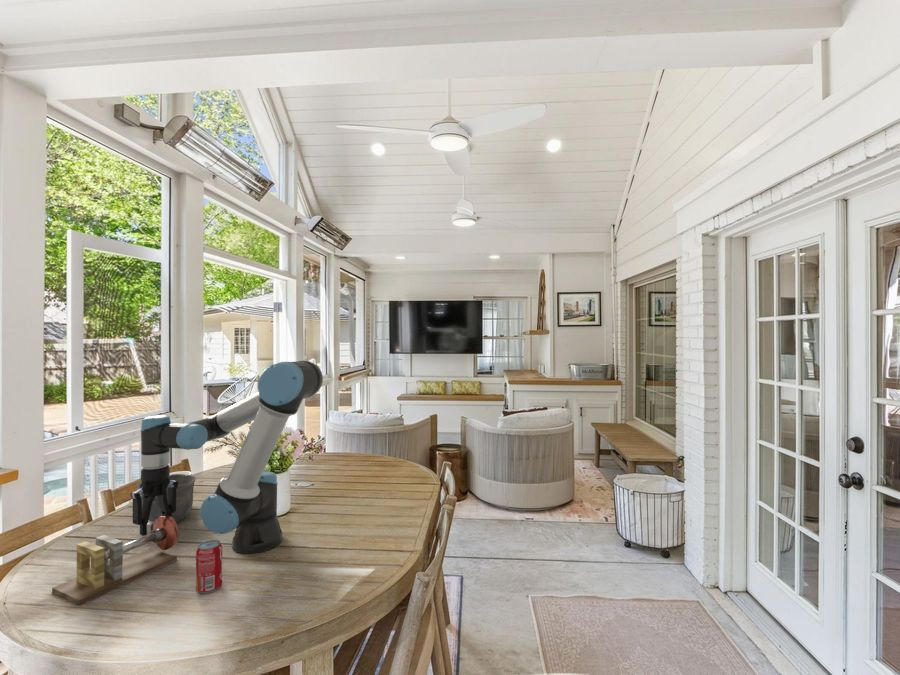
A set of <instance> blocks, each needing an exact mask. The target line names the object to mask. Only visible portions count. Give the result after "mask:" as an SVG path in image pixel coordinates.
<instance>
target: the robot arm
mask: <svg viewBox="0 0 900 675" xmlns="http://www.w3.org/2000/svg"><path fill="white" fill-rule="evenodd" d="M323 381H324V376H323V373H322V371H321V368H319V366H318V365H317V364H315V363H314V362H312V361H309V360H298V361H296V360H295V361H279V362H277V363H274V364H271V365H269V366H268V367H266V368H265V369H264V370H263V372H262V373H261V374H260V375H259V378H258V381H257V389H258V391H257V392H255V393H253V394H252V395H250V396H248V397H246V398H244V399H242V400H239V401H238V402H236V403H234V404H233V405H230V406H229V407H227V408H225V409H222V410H220V411H219V412H218V413H215V414H213V415H211V416H209V417H205V418H202V419H198V420H194V421H189V422H186V423H185V422H184V423H179V422H178V423H176V422H175V423H174V422H173V423H172V422H171V416H169V415H166V414H160V415H159V414H157V415H150V416H145V417H144V418H143V419H142V420H141V424H140V425H141V426H140V450H141V451H140V467H142V468H141V469H140V482H142V483H141V486H140V489H139V490H138V489H137V490H136V491H131V492H130V493H129V494H130V497H131V499H132V501H131V503H132V524H134V525H136V526H139V535H140V536H142V537H145V536H148V535H150V534H151V528H152V527H151V523H149V515H150V511H151V507H152V502H153V501H154V498H155V497H156V496H157V497H158V500H159V504H160V509H161V513H162V515H163V516H165V515H169V516H172V513H174V512H175V511H176V489H177V486H178V481H174V480H171V481H170V479H169V476H170V473H171V465H169V464H170V463H171V449H177V450H178V449H179V450H186V451H188V450H189V451H190V450H198V449H201V448H202V447H203V446H204V445H205V444H206V443H207V442H210V441H214V440H219V439H221V438H224V437H226V436H228V435H229V434H230V433H231V432H232V431H234V430H237V429H239V428H241V427H243V426H245V425H247V424H248V423H251V422H252V424H251V426H250V428H249V430H248V433H247V434H246V437H245V439H244V442H243V443H242V445H241V447H240V449H239V452H238V454H237V456H236V458H235V460H234V463H233V466H232V467H231V470H230V471H229V474H227V475H225V476H223V477H222V478H221V479H220V480H219V483H218V484H217V488H216V489H215V492H214V493H213V494H211V495H209V496H207V498H205V499H204V500H203V501H202V503H201V505H200V509H199V511H200V512H199V513H200V518H201V520H202V523H203V526H204V527H206V529H207V530H208V531H210V532H212V533H213V534H218V535H225V534H228V533H230V532H232V531H235V532H234V536H233V537H232V541H231V542H232V544H231V545H232V546H231V547H232V550H233V551H234V552H236V553H239V554H256V553H261V552H266V551H268V550H271V549H274V548H276V547H278V546H279V545H280V544H281V543H282V541H283V531H282V529H281V525H280V522H279V520H278V514H277V513H278V511H277V510H278V479H277V478H278V477H277V474H276V473H275V472H273V471H268V470H265V469H266V468H267V466H268V465H267V464H268V462H269V461H270V458H271V456H272V454H273V452H274V450H275V447H276V446H277V443H278V441H279V439H280V437H281V435H282V433H283V430H284V428H285V427H286V424H287V422H288V419H289V417H291V416H293V415H296V414H297V413H298V411H299V408H300V407H301V404H302V402H303V400H304V399H307V398H310V397H313V396H314V395H316V394H317V393H318V392H319V391H320V390H321V388H322V385H323ZM167 487H168V501H167V497H166V496H167V492H166V488H167ZM142 492H143V493H144V497H143V500H144V502H143V506H142V499H141V497H142ZM149 497H150V498H149ZM161 517H162V516H161ZM142 537H141V538H142ZM144 546H146V547H149V546H151V542H150V543H148V544H145V545H144Z"/></svg>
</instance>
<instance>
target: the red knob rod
mask: <svg viewBox="0 0 900 675" xmlns="http://www.w3.org/2000/svg"><path fill="white" fill-rule="evenodd" d="M179 530H180V529H179V525H178V523H177V522H176V521H175V520H174V518H173V517H171V516H169V515H165V516H162V517H159V518H157V519H156V520H155V522H153V525H152V531H150V535H148V536H145V537H141V538H137V539H135V540H132V541H130V542H127V543H123V554H125V553H128V552H130V551H132V550H135V549H137V548H140V547H142V546H146V545H145V544H148V543H150V544H151V543H153V544H155V545H156V546H157V547H158V548H159V549H160V550H162V551H167V550H169V549H172V548H174V547H176V545H177V544H178V542H179V538H180V531H179ZM104 558H105V559H106V560H107V559H109V560H110V550H109V549H108V551H106V552H104Z"/></svg>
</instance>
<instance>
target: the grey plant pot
mask: <svg viewBox="0 0 900 675" xmlns="http://www.w3.org/2000/svg"><path fill="white" fill-rule="evenodd" d="M169 479H170V481H171V480H174V481H178V486H177V489H176V511H175V512H174V513H172V516H171V517H173V518H174V520H175V521H176V523H177V522H179V521H181V520H182V519H184V518H186V517H187V516H188V515H189V514H190V512H191V510H192V507H193V503H194V502H193V501H194V495H193V494H194V486H195V482H196V476H194V475H192V476H191V475H184V474H173V475H170V476H169ZM141 483H142V482H141V481H139V482H138V483H137V485H136V487H137V490H139V489H140V486H141ZM166 492H167V496H166V497H167V501H168V487H167V488H166ZM143 497H144V493H143V492H142V497H141V499H142V506H143V502H144V500H143ZM149 498H150V497H149ZM161 516H163V515H162V513H161V509H160V504H159V500H158V497H157V496H156V497H155V498H154V501H153V502H152V507H151V511H150V515H149V520H148V522H151V523H154V522H155V520H156V519H157V518H159V517H161Z"/></svg>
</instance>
